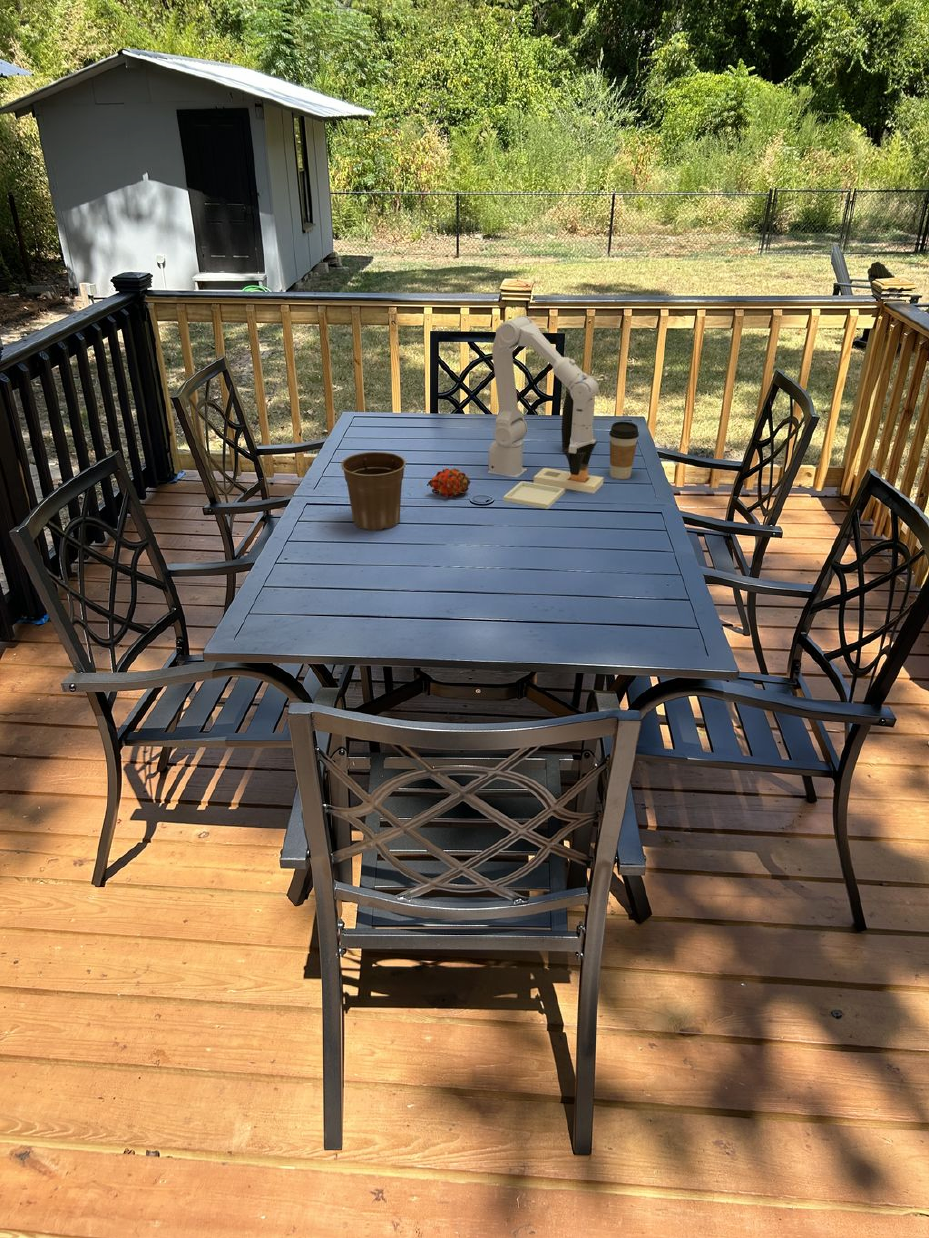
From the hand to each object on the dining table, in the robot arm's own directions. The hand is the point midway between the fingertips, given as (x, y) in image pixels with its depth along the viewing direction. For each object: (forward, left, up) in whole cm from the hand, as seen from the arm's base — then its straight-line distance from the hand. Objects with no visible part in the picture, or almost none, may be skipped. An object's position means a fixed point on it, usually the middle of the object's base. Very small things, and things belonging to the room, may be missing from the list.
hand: (579, 470), depth 254 cm
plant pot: (-39, -46, -5) cm, 60 cm away
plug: (0, 0, -5) cm, 5 cm away
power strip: (-3, 0, -5) cm, 6 cm away
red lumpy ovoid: (-30, -22, -5) cm, 38 cm away
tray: (-8, -14, -5) cm, 16 cm away
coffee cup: (+8, +14, -5) cm, 17 cm away
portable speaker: (-11, +28, -5) cm, 31 cm away
